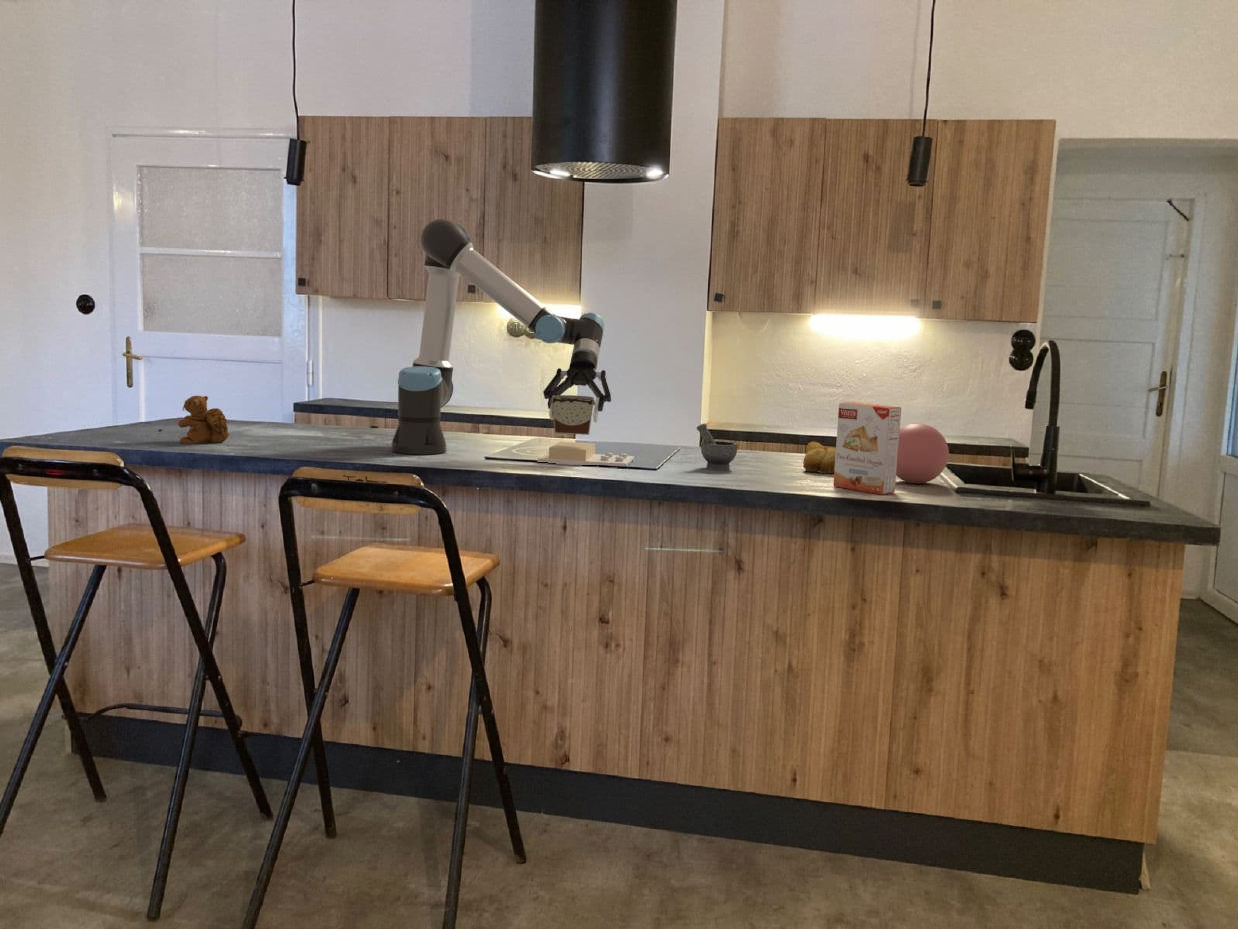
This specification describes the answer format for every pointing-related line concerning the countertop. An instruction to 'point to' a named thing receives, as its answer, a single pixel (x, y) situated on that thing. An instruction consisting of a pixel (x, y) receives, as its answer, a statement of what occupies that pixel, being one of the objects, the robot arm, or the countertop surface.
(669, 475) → the countertop surface
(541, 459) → the build plate
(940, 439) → the balloon
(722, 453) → the mortar and pestle
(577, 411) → the food container
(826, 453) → the bread roll
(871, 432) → the cracker box
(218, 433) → the stuffed squirrel
